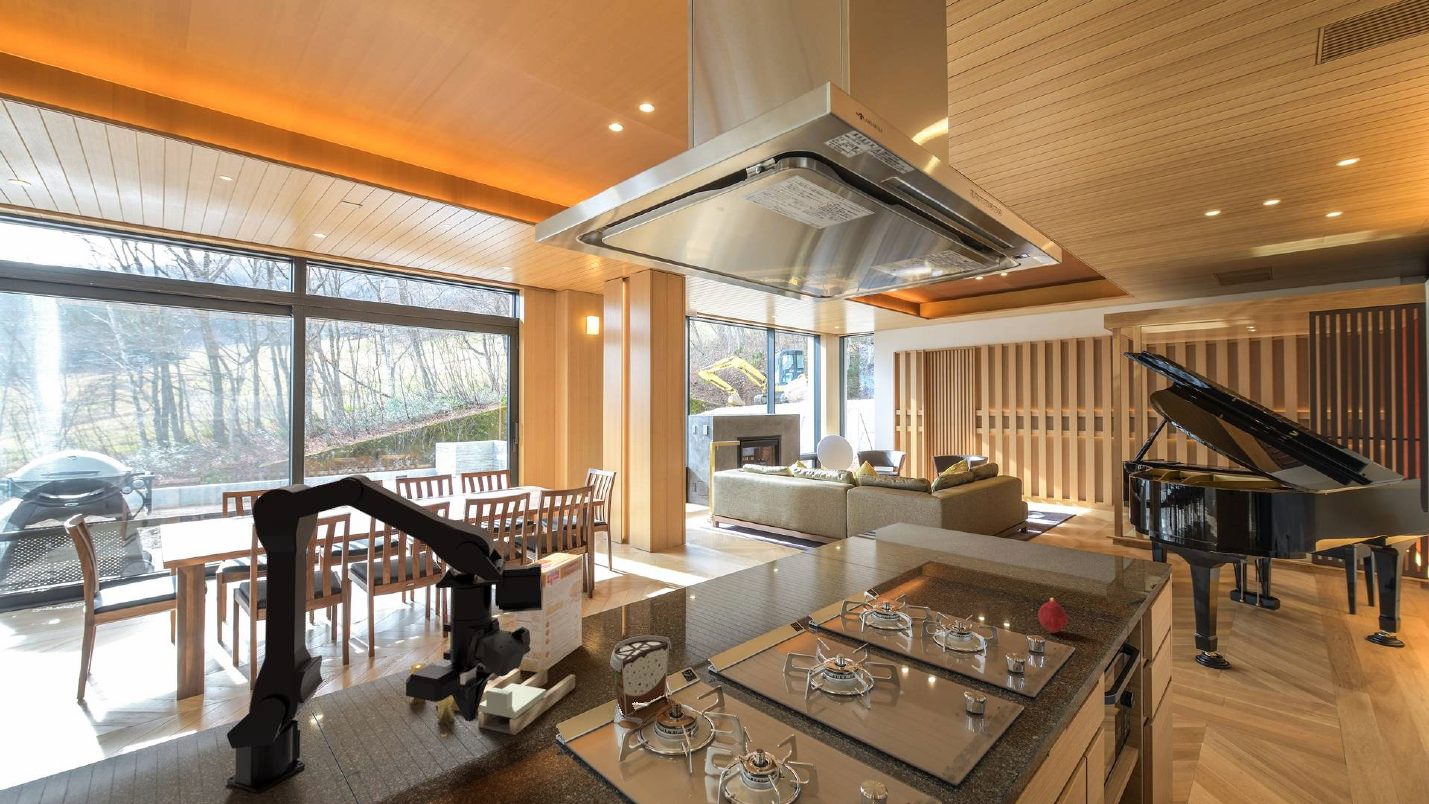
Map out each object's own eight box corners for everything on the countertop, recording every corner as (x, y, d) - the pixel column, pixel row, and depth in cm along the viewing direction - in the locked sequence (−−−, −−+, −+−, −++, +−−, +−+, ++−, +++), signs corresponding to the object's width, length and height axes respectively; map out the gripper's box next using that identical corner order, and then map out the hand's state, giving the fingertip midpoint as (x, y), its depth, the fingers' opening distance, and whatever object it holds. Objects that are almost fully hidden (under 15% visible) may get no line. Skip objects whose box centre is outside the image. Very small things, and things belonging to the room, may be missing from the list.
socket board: (474, 714, 98) (474, 698, 98) (436, 706, 101) (436, 691, 101) (520, 683, 110) (520, 669, 110) (484, 676, 112) (485, 663, 112)
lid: (515, 718, 92) (515, 696, 92) (478, 711, 94) (478, 689, 94) (545, 695, 100) (545, 674, 100) (511, 689, 102) (511, 668, 102)
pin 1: (417, 704, 101) (418, 669, 101) (406, 702, 102) (407, 667, 102) (428, 698, 104) (429, 664, 104) (418, 696, 104) (418, 662, 104)
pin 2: (446, 724, 95) (446, 687, 95) (434, 722, 96) (434, 684, 96) (457, 717, 97) (457, 680, 97) (445, 715, 98) (446, 678, 98)
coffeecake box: (554, 641, 130) (555, 552, 130) (583, 645, 128) (584, 554, 128) (511, 669, 115) (512, 569, 116) (543, 674, 113) (543, 572, 114)
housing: (514, 734, 92) (515, 720, 92) (478, 726, 94) (478, 713, 94) (575, 687, 108) (575, 675, 108) (542, 681, 110) (542, 669, 110)
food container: (647, 683, 110) (647, 629, 110) (671, 693, 106) (671, 637, 106) (594, 709, 100) (595, 649, 100) (618, 721, 96) (619, 659, 96)
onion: (1072, 638, 133) (1072, 602, 133) (1046, 638, 133) (1046, 602, 133) (1058, 628, 138) (1058, 594, 139) (1033, 628, 139) (1033, 594, 139)
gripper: (469, 644, 76) (468, 766, 76) (554, 601, 94) (553, 700, 94) (403, 633, 80) (401, 750, 80) (496, 594, 98) (495, 689, 97)
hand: (469, 720), depth 88 cm, fingers closed
